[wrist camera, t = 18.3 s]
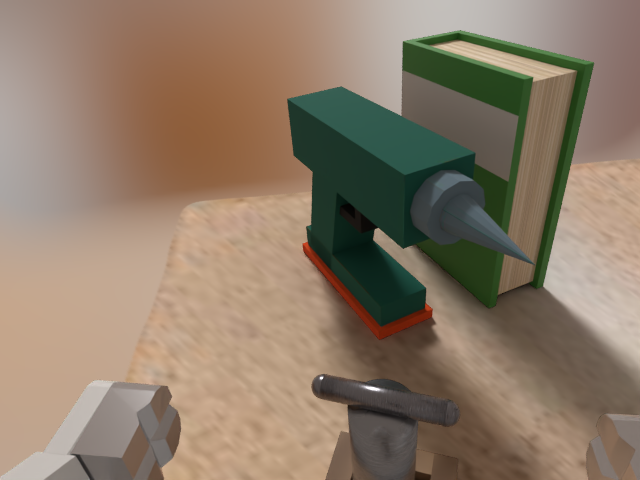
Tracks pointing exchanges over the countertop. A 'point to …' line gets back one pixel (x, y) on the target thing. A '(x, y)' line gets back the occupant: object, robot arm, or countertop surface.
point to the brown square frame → (430, 471)
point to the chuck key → (384, 423)
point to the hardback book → (500, 143)
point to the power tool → (383, 201)
